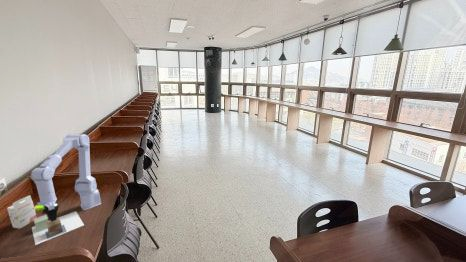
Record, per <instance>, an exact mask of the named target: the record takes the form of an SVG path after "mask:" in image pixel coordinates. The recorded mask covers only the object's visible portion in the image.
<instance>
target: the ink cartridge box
mask: <svg viewBox="0 0 466 262" xmlns="http://www.w3.org/2000/svg"><path fill="white" fill-rule="evenodd" d="M6 210H7V213H8V215H9V219H10V223H11V225H12V228H14V229H21V228H23V227H25V226H26V225H28V224H30V223H32V222H34V219H35V218H38V216H37V214H36V212H37V211H35V209H34V201H33V200H32V197H31V195H27V196H25V197H22V198H20V199H18V200H16V201H14V202H13V203H12V205H10V206H9V207H7V208H6Z"/></svg>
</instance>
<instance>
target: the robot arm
mask: <svg viewBox="0 0 466 262" xmlns="http://www.w3.org/2000/svg"><path fill="white" fill-rule="evenodd" d="M72 148H75V150H78V169H79V170H78V172H79V174H78V175H79V177H78V178H77V179H75V185H74V190H75V192H76V193H78V195H79V198H80V203H81V204H80V205H79V206H80V208H81V209H82V211H86V210H89V209H92V208H94V207H96V206H100V205H101V204H102V200H101V195H100V192H99V189H98V188H97V186H98V185H97V182H96V178H95V177H93V176H92V175H91V155H90V154H91V153H90V152H91V151H90V137H89V136H88V135H87V134H85V133H83V134H71V133H68V134H67V135H66V136H65V137H64V138H63V142H62V144H61V145H60V146H59V147H58V148H57V150H56V151H55V153H53V154H49V155H48V156H47V157H46V159H44V161H42V163H41V164H40V165H39V167H36V168H34V169H32V170H31V173H30V176H29V178H30V179H31V180H32V181H33V182H34V184H35V186H36V189H37V194H38V197H39V202H37V203H36V205H37V204H38V205H43V206H44V208H45V209H43V210H42V212H43V213H44V214H45V215H47V217H48V220H49V221H51V222H52V221H55V220H57V218H58V211H59V209H60V205H59V204H57V206H54V204H56V202H57V200H58V198H57V196H56V193H55V187H54V183H53V179H52V178H53V177H54V175H55V171H56V169H57V168H58V167H59V165H60V164H61V163H62V162H63V159H62V158H63V157H64V156H65V155H66V154H67V153H68V152H69V151H70V150H71V149H72Z"/></svg>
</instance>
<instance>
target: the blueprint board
mask: <svg viewBox="0 0 466 262" xmlns="http://www.w3.org/2000/svg"><path fill="white" fill-rule="evenodd" d="M57 219H60V222H61V225H62V230H63V232H61V233H58V234H56V235H53V236H51V237H50V235H49V232H48V228H47V229H44V230H41V231H39V232H37V230H36V226H35V225H34V226H32V227H31V232H32V235H33V240H34V244H35V246H37V245H39V244H41V243H44V242H46V241H50V240H51V239H53V238H56V237H59V236H61V235H64V234H66V233H69V232H72V231H74V230H76V229H78V228H81V227H83V226H85V224H84V222H83V221H82V219H81V218H80V215H79V214H78V212H77V211H72V212H70V213H68V214H65V215H62V216H59V217H57ZM48 221H49V222H50V220H48Z"/></svg>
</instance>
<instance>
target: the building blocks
mask: <svg viewBox="0 0 466 262" xmlns="http://www.w3.org/2000/svg"><path fill="white" fill-rule="evenodd" d="M33 205H34V204H33ZM57 205H58V203H56V202H55V204H54V206H57ZM34 209H35V212H40V211H43V209H45V208H44V206H43V205H38V204H37V203H36V204H35V205H34Z"/></svg>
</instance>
